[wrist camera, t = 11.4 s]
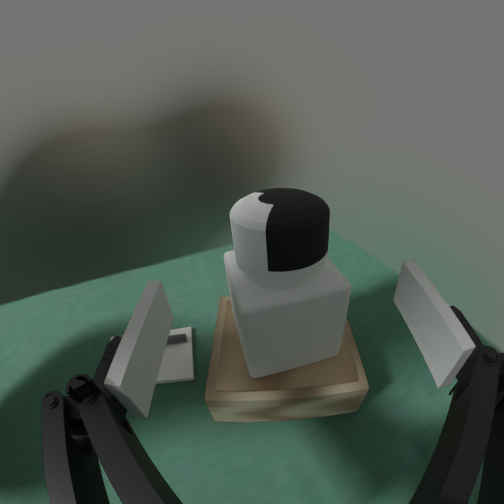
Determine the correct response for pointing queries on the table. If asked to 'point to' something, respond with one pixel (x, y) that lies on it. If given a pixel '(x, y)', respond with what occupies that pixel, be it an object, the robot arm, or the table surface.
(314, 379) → the beech tray
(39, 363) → the table surface
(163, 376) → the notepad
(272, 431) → the table surface
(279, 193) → the medicine bottle
